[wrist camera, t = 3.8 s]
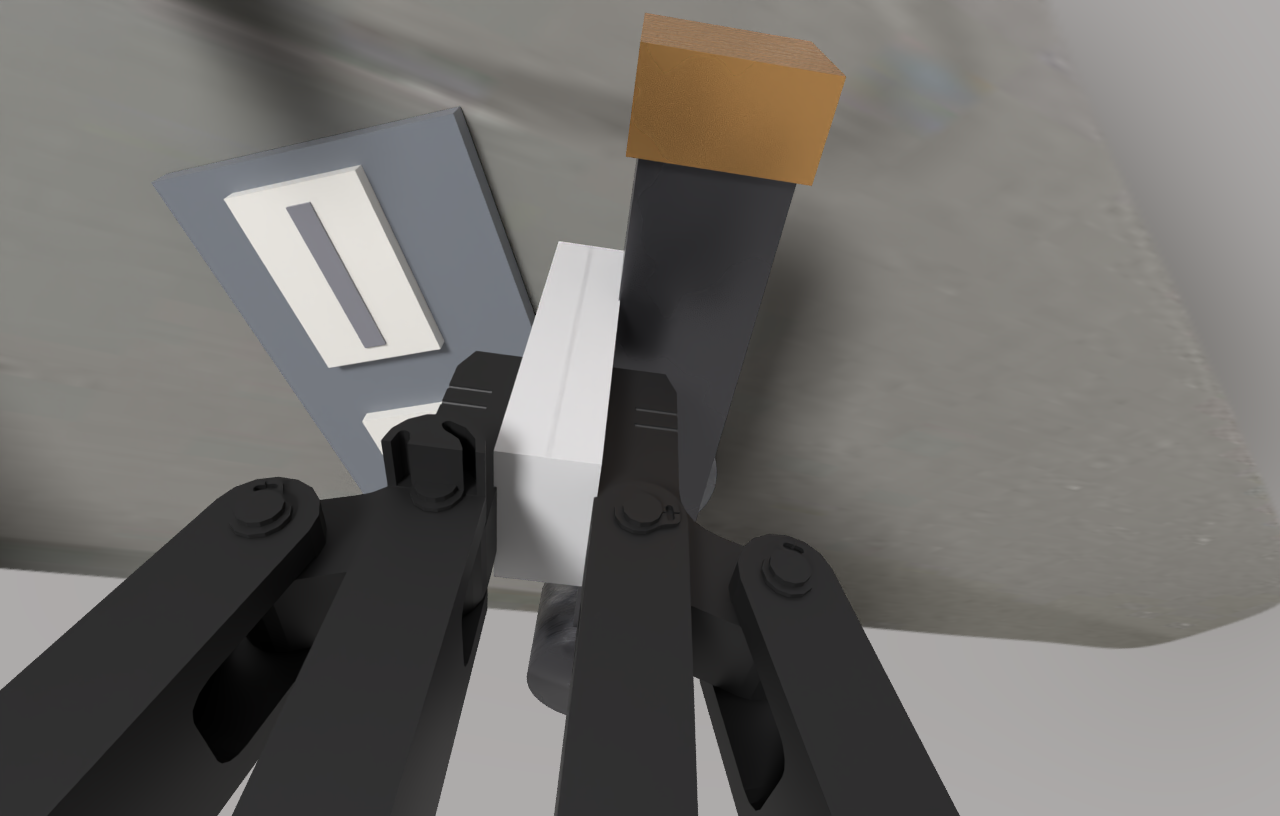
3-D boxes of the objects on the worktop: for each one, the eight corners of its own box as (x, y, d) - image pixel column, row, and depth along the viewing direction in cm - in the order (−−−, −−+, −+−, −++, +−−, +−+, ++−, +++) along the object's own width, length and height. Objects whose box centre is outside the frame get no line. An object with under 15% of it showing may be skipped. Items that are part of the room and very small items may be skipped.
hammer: (671, 648, 24) (672, 729, 22) (538, 633, 24) (524, 714, 21) (864, 49, 12) (914, 89, 9) (588, 2, 11) (568, 31, 9)
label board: (391, 513, 30) (381, 536, 29) (166, 173, 20) (138, 189, 19) (596, 486, 29) (593, 510, 28) (460, 106, 19) (447, 119, 18)
